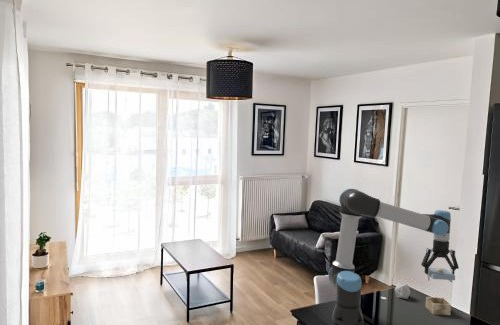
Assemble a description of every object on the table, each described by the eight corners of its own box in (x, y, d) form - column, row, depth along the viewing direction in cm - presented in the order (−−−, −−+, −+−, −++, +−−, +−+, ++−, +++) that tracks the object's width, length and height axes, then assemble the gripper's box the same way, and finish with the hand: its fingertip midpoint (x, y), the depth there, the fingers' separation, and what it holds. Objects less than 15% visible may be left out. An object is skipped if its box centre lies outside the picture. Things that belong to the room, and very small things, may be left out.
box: (432, 315, 190) (433, 303, 189) (425, 307, 199) (426, 296, 198) (450, 316, 189) (451, 304, 189) (442, 308, 198) (443, 297, 198)
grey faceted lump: (390, 295, 215) (391, 286, 210) (400, 286, 219) (401, 276, 213) (403, 305, 209) (404, 295, 203) (413, 296, 212) (414, 286, 206)
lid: (433, 280, 188) (433, 272, 188) (424, 272, 199) (424, 265, 199) (454, 281, 187) (455, 273, 187) (445, 274, 198) (445, 266, 198)
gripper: (421, 240, 189) (419, 281, 190) (467, 242, 188) (465, 284, 189) (415, 236, 197) (413, 276, 198) (460, 239, 195) (458, 279, 196)
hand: (438, 280), depth 193 cm, fingers closed on lid, 11 cm apart
